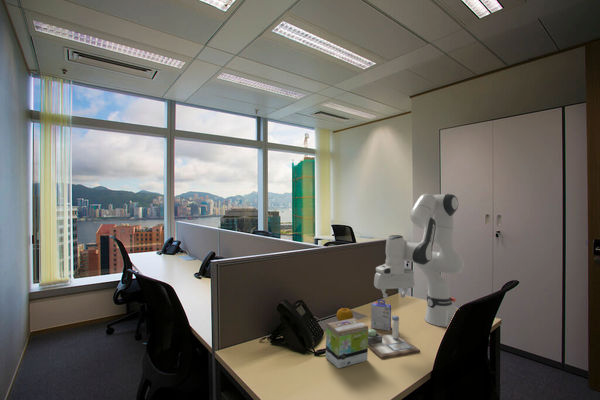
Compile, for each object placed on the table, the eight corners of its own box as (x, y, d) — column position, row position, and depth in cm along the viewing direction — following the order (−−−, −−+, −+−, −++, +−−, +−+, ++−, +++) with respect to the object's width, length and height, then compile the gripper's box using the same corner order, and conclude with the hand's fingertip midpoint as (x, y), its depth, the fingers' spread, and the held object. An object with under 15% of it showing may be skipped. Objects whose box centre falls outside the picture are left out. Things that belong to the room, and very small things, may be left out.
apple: (341, 329, 149) (342, 312, 150) (333, 323, 158) (333, 306, 158) (356, 326, 153) (356, 309, 153) (346, 320, 161) (347, 304, 162)
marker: (396, 336, 139) (396, 315, 139) (400, 339, 136) (400, 317, 136) (390, 337, 138) (390, 316, 138) (394, 340, 135) (394, 318, 135)
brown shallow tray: (394, 334, 144) (394, 326, 144) (419, 352, 127) (419, 342, 127) (359, 339, 138) (359, 331, 138) (380, 358, 121) (380, 349, 121)
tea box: (338, 370, 112) (339, 332, 113) (325, 357, 121) (325, 322, 122) (368, 360, 119) (368, 325, 120) (353, 349, 128) (353, 316, 129)
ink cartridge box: (391, 327, 153) (391, 300, 153) (390, 331, 147) (390, 303, 148) (372, 324, 156) (372, 297, 157) (370, 328, 151) (370, 300, 152)
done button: (372, 334, 138) (372, 328, 138) (377, 338, 134) (377, 332, 134) (364, 335, 137) (364, 329, 137) (369, 339, 133) (369, 333, 133)
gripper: (409, 267, 145) (409, 294, 144) (372, 267, 140) (372, 296, 139) (417, 269, 138) (417, 298, 138) (379, 270, 134) (378, 300, 133)
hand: (394, 297), depth 139 cm, fingers open, 8 cm apart
